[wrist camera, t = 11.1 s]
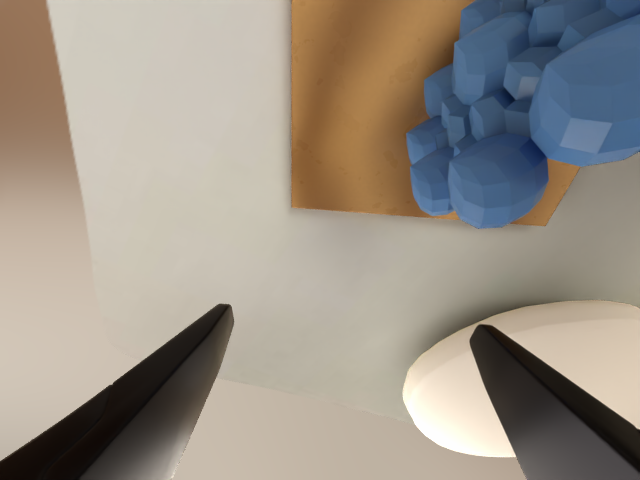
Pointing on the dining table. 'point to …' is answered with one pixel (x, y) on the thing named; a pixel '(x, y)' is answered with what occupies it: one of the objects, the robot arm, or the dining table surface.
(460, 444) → the plate
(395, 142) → the bamboo board
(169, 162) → the dining table surface
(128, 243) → the dining table surface
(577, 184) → the dining table surface
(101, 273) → the dining table surface
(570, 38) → the grapes
